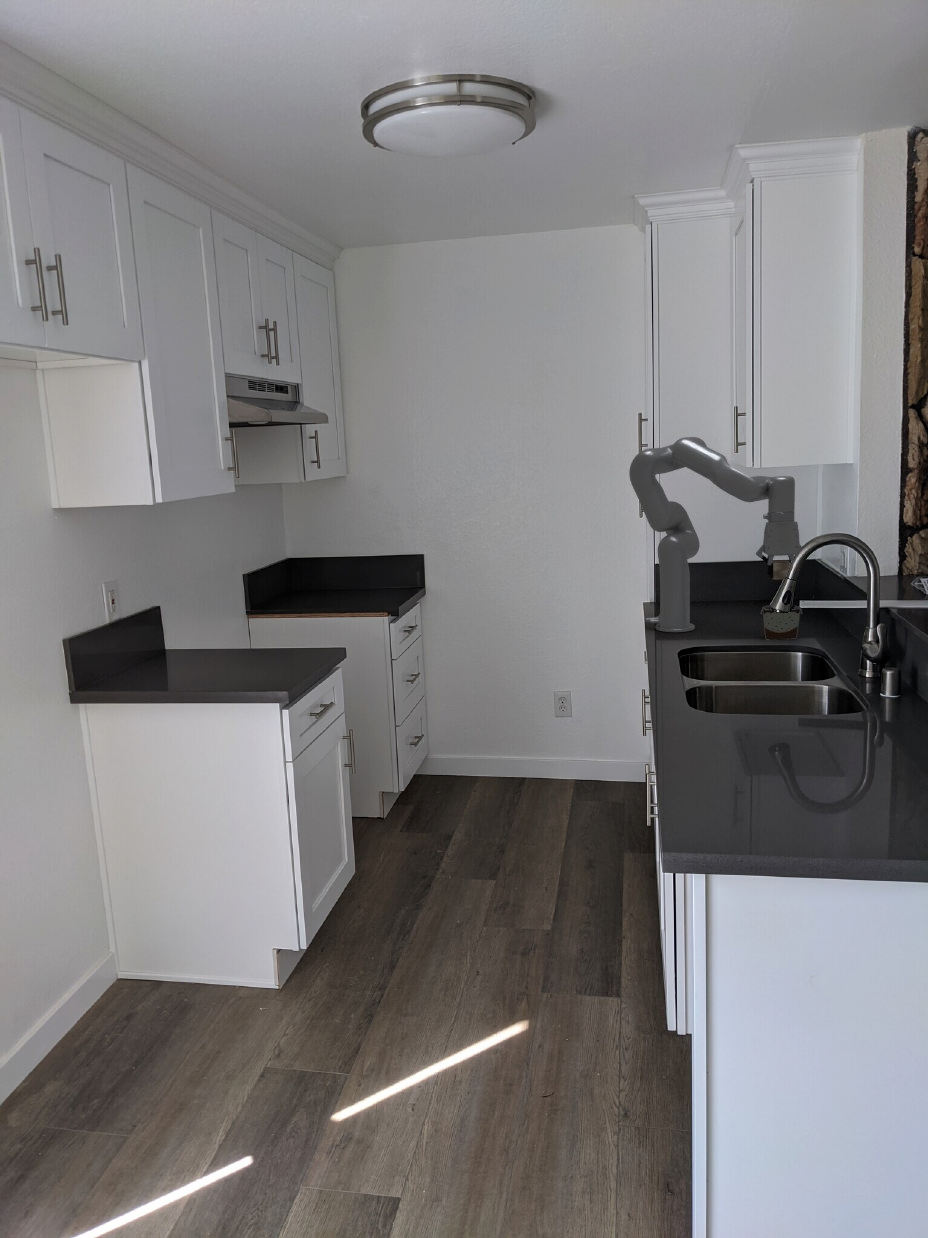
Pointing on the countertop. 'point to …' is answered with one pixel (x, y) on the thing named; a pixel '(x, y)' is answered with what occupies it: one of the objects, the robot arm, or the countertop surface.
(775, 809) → the countertop surface
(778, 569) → the maple block
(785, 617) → the food container
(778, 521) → the robot arm
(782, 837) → the countertop surface
